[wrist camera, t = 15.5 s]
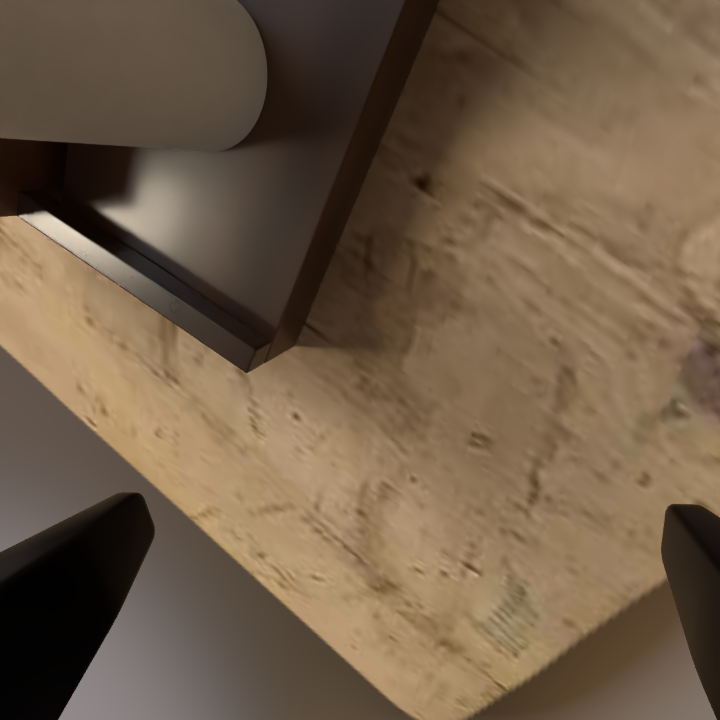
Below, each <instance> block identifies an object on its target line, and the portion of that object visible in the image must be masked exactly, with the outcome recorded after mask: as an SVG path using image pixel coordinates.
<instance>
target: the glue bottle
mask: <svg viewBox="0 0 720 720" xmlns="http://www.w3.org/2000/svg"><path fill="white" fill-rule="evenodd" d="M267 76H268V74H267V61H266V54H265V49H264V45H263V42H262V39H261V36H260V33H259V31H258V29H257V27H256V25H255V23H254V21H253V19H252V18H251V16H250V15H249V13H248V12H247V11H246V9H245V8H244V7H243V6H242V5H241V4H240V3H239V2H238V1H237V0H0V138H7V139H23V140H38V141H54V142H69V143H85V144H100V145H116V146H131V147H147V148H162V149H178V150H193V151H209V152H216V151H222V150H226V149H228V148H231V147H233V146H234V145H236V144H238V143H239V142H240V141H241V140H243V139H244V138H245V137H246V136H247V135H248V134H249V132H250V131H251V130H252V128H253V127H254V125H255V124H256V122H257V120H258V118H259V116H260V113H261V110H262V108H263V104H264V100H265V96H266V90H267Z"/></svg>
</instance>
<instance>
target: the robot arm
mask: <svg viewBox="0 0 720 720" xmlns="http://www.w3.org/2000/svg"><path fill="white" fill-rule="evenodd" d="M154 535H155V527H154V523H153V521H152V518H151V515H150V512H149V510H148V507H147V504H146V501H145V499H144V497H143V496H142V495H141V494H139V493H135V492H134V493H133V492H121V493H117V494H115V495H113V496H111V497H109V498H107V499H105V500H103V501H101V502H99V503H97V504H95V505H94V506H91V507H89V508H87V509H85V510H83V511H81V512H79V513H77V514H75V515H73V516H72V517H69V518H67V519H65V520H63V521H61V522H59V523H58V524H56V525H54V526H52V527H50V528H48V529H46V530H44V531H42V532H40V533H38V534H36V535H34V536H32V537H30V538H28V539H26V540H24V541H22V542H20V543H18V544H16V545H14V546H12V547H10V548H8V549H6V550H4V551H2V552H0V720H58V719H59V717H60V715H61V713H62V712H63V710H64V708H65V707H66V705H67V703H68V701H69V700H70V698H71V696H72V694H73V693H74V691H75V689H76V688H77V686H78V684H79V682H80V681H81V679H82V677H83V675H84V674H85V672H86V670H87V668H88V667H89V665H90V663H91V661H92V660H93V658H94V656H95V654H96V653H97V651H98V649H99V648H100V646H101V644H102V642H103V641H104V639H105V637H106V635H107V634H108V632H109V630H110V628H111V626H112V625H113V623H114V621H115V619H116V618H117V615H118V613H119V612H120V610H121V608H122V606H123V604H124V601H125V599H126V597H127V595H128V593H129V590H130V588H131V586H132V584H133V582H134V580H135V578H136V576H137V574H138V571H139V569H140V567H141V565H142V563H143V561H144V558H145V556H146V554H147V552H148V550H149V548H150V546H151V543H152V541H153V539H154ZM661 553H662V560H663V564H664V568H665V571H666V574H667V578H668V581H669V584H670V587H671V591H672V594H673V597H674V601H675V604H676V607H677V610H678V614H679V617H680V620H681V624H682V627H683V630H684V633H685V637H686V640H687V643H688V646H689V650H690V653H691V656H692V659H693V662H694V665H695V668H696V670H697V673H698V675H699V678H700V680H701V683H702V686H703V688H704V690H705V693H706V695H707V697H708V700H709V702H710V704H711V707H712V709H713V711H714V714H715V716H716V718H717V720H720V518H719V517H718V516H716V515H715V514H713V513H712V512H710V511H709V510H707V509H706V508H704V507H702V506H700V505H693V504H671V505H670V506H668V508H667V510H666V513H665V521H664V529H663V537H662V545H661Z"/></svg>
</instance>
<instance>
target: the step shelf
mask: <svg viewBox="0 0 720 720" xmlns="http://www.w3.org/2000/svg"><path fill="white" fill-rule="evenodd" d="M237 1H238V2H239V3H240V4H241V5H242V6H243V7H244V8H245V9H246V11H247V12H248V13H249V15H250V16H251V18H252V19H253V21H254V23H255V25H256V27H257V29H258V31H259V33H260V36H261V39H262V42H263V45H264V49H265V54H266V61H267V74H268V76H267V90H266V96H265V100H264V104H263V108H262V110H261V113H260V116H259V118H258V120H257V122H256V124H255V125H254V127H253V128H252V130H251V131H250V132H249V134H248V135H247V136H246V137H245V138H244V139H243V140H241V141H240V142H239V143H238V144H236V145H234V146H233V147H231V148H228V149H226V150H222V151H216V152H209V151H193V150H178V149H162V148H147V147H131V146H116V145H100V144H85V143H69V142H54V141H38V140H23V139H7V138H0V217H3V216H18V217H20V218H21V219H23V220H24V221H26V222H27V223H29V224H30V225H31V226H33V227H34V228H36V229H37V230H39V231H40V232H42V233H43V234H45V235H46V236H47V237H49V238H50V239H52V240H53V241H55V242H56V243H58V244H59V245H61V246H62V247H63V248H65V249H66V250H68V251H69V252H71V253H72V254H74V255H75V256H77V257H78V258H79V259H81V260H82V261H84V262H85V263H87V264H88V265H90V266H91V267H93V268H94V269H95V270H97V271H98V272H100V273H101V274H103V275H104V276H106V277H107V278H109V279H110V280H112V281H113V282H114V283H116V284H117V285H119V286H120V287H122V288H123V289H125V290H126V291H128V292H129V293H130V294H132V295H133V296H135V297H136V298H138V299H139V300H141V301H142V302H144V303H145V304H146V305H148V306H149V307H151V308H152V309H154V310H155V311H157V312H158V313H160V314H161V315H162V316H164V317H165V318H167V319H168V320H170V321H171V322H173V323H174V324H176V325H177V326H179V327H180V328H181V329H183V330H184V331H186V332H187V333H189V334H190V335H192V336H193V337H195V338H196V339H197V340H199V341H200V342H202V343H203V344H205V345H206V346H208V347H209V348H211V349H212V350H213V351H215V352H216V353H218V354H219V355H221V356H222V357H224V358H225V359H227V360H228V361H229V362H231V363H232V364H234V365H235V366H237V367H238V368H240V369H241V370H243V371H244V372H246V373H248V372H250V371H252V370H253V369H255V368H257V367H259V366H260V365H262V364H263V363H266V362H268V361H269V360H271V359H273V358H275V357H276V356H278V355H280V354H282V353H283V352H285V351H287V350H289V349H290V348H292V347H294V346H295V344H296V341H297V339H298V336H299V334H300V332H301V329H302V327H303V325H304V322H305V320H306V317H307V315H308V313H309V310H310V308H311V305H312V303H313V301H314V298H315V296H316V294H317V291H318V289H319V286H320V284H321V282H322V279H323V277H324V275H325V272H326V270H327V267H328V265H329V263H330V260H331V258H332V255H333V253H334V251H335V248H336V246H337V244H338V241H339V239H340V236H341V234H342V232H343V229H344V227H345V225H346V222H347V220H348V217H349V215H350V213H351V210H352V208H353V205H354V203H355V201H356V198H357V196H358V194H359V191H360V189H361V186H362V184H363V182H364V179H365V177H366V175H367V172H368V170H369V167H370V165H371V163H372V160H373V158H374V155H375V153H376V151H377V148H378V146H379V144H380V141H381V139H382V136H383V134H384V132H385V129H386V127H387V125H388V122H389V120H390V117H391V115H392V113H393V110H394V108H395V105H396V103H397V101H398V98H399V96H400V94H401V91H402V89H403V86H404V84H405V82H406V79H407V77H408V75H409V72H410V70H411V67H412V65H413V63H414V60H415V58H416V55H417V53H418V51H419V48H420V46H421V44H422V41H423V39H424V36H425V34H426V32H427V29H428V27H429V25H430V22H431V20H432V17H433V15H434V13H435V10H436V8H437V5H438V3H439V1H440V0H237Z"/></svg>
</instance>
